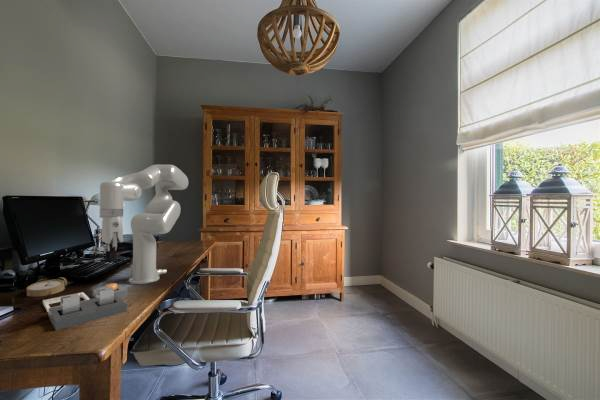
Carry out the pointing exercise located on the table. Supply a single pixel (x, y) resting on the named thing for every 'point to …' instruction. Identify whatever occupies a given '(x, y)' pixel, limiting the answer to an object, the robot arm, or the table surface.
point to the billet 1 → (70, 304)
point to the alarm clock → (46, 287)
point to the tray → (58, 299)
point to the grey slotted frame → (86, 313)
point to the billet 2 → (105, 296)
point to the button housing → (117, 292)
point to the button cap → (113, 285)
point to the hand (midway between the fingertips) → (110, 260)
